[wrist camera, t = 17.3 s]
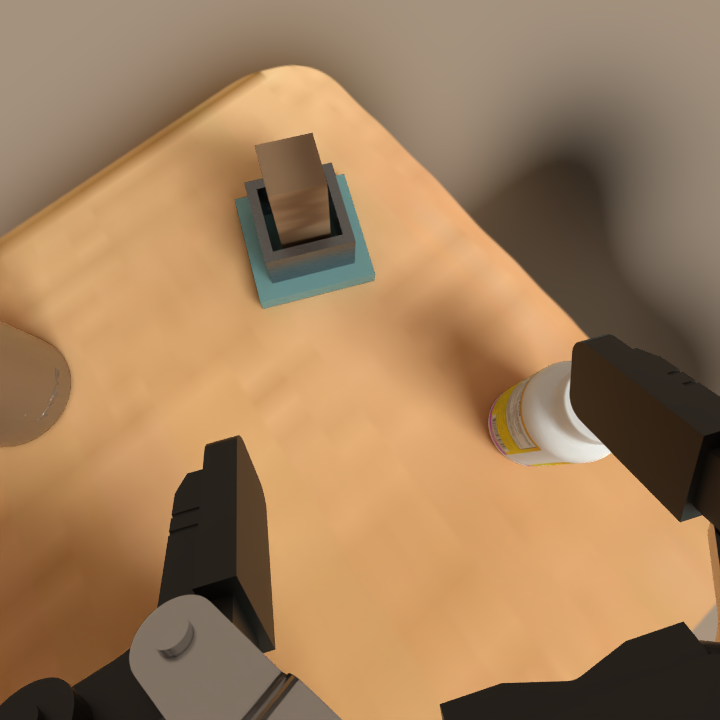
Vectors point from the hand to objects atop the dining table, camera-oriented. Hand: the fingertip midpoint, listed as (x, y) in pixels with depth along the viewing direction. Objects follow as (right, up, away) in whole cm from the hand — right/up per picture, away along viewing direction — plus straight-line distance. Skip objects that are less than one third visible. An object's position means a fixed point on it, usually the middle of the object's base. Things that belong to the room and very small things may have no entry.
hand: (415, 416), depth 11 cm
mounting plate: (-6, +12, +32) cm, 35 cm away
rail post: (-6, +12, +31) cm, 34 cm away
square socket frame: (-6, +12, +31) cm, 34 cm away
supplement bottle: (+12, -4, +29) cm, 32 cm away
